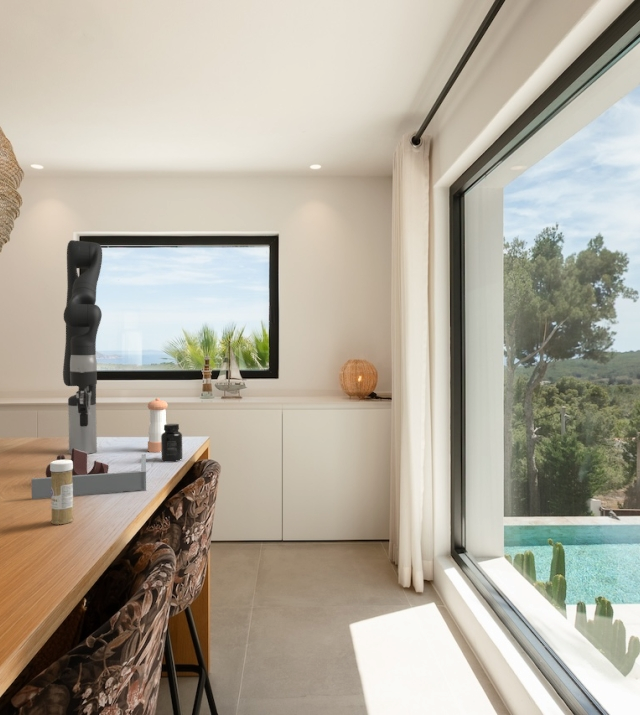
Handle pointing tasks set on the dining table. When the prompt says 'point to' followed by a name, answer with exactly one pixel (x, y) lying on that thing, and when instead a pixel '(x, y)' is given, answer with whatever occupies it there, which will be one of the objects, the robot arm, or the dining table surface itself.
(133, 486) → the angled bar
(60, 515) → the sprinkles bottle
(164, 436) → the supplement bottle
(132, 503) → the dining table surface
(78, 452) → the bracket
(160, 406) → the pepper shaker
